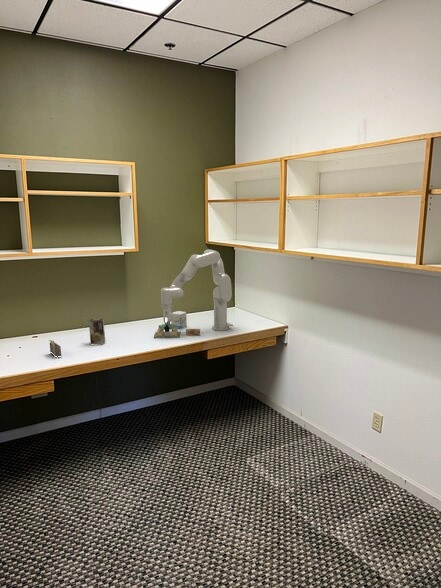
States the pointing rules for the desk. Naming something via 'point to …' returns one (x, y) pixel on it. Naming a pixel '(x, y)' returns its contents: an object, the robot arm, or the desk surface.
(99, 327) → the coffee box
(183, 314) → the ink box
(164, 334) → the chassis
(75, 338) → the desk surface
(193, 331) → the block
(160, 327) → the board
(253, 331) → the desk surface
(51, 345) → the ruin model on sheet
